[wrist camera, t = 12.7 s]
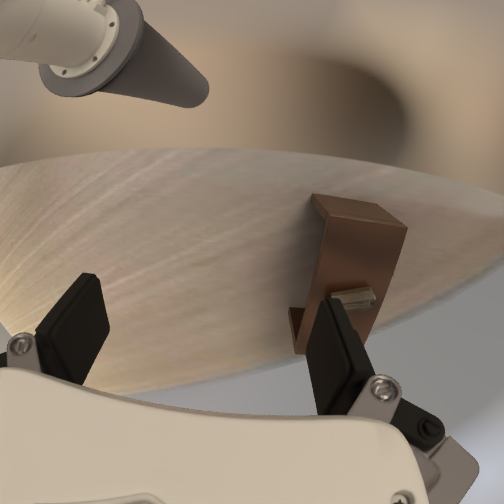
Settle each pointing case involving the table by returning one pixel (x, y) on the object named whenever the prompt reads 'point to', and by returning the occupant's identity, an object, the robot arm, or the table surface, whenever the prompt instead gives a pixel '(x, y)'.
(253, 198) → the table surface
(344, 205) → the shelf
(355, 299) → the block
